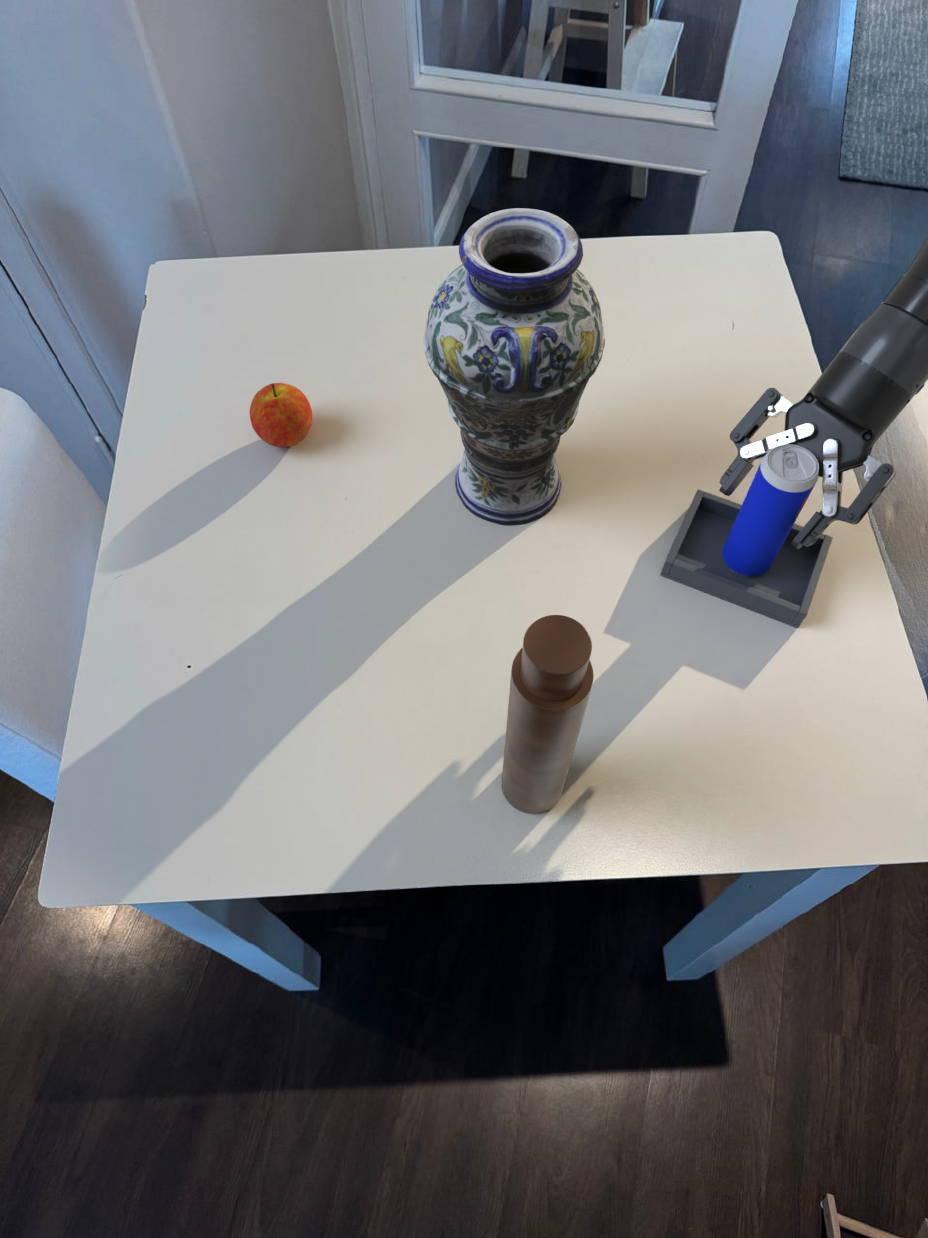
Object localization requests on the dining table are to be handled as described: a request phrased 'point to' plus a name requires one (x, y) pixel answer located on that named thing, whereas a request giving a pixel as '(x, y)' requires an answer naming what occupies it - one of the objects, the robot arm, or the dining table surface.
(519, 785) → the bottle
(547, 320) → the vase
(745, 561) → the beverage can
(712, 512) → the dark gray tray
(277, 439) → the fruit
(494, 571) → the dining table surface
